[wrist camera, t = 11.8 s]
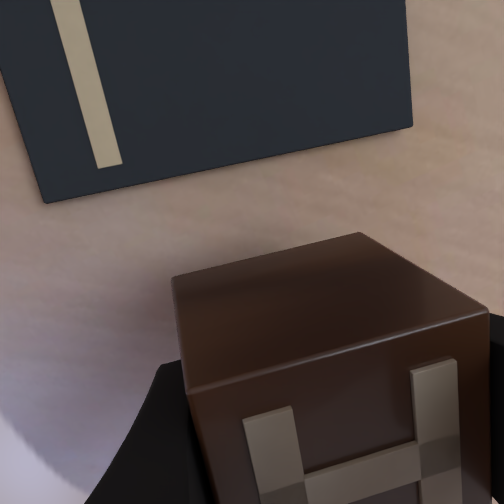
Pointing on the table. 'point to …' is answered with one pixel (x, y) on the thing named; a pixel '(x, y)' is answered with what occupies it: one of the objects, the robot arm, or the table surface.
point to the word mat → (195, 83)
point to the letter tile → (336, 378)
